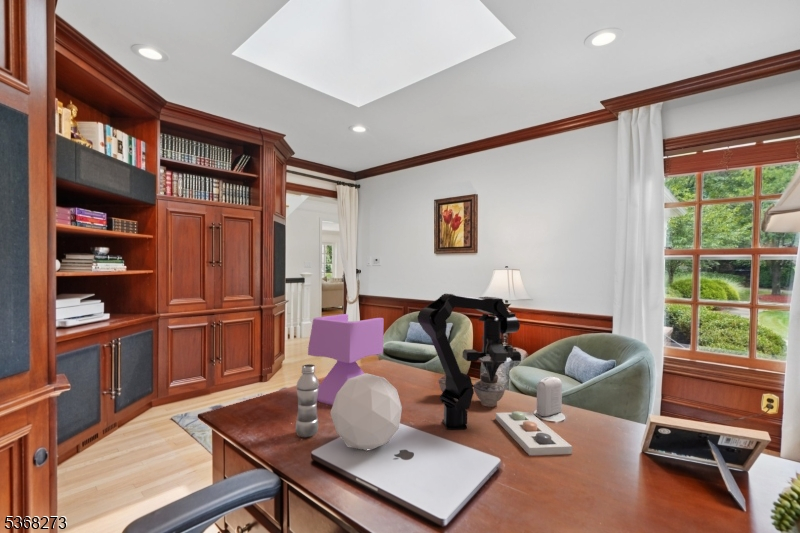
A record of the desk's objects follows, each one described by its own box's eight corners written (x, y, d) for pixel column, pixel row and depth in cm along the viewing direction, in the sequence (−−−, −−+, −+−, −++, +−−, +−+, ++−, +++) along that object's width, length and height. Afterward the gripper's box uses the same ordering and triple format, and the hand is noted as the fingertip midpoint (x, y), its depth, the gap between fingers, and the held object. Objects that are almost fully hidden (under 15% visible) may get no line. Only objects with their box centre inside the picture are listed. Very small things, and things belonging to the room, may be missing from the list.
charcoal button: (540, 450, 99) (540, 439, 99) (533, 443, 103) (533, 432, 103) (554, 450, 99) (554, 439, 99) (546, 443, 103) (546, 432, 103)
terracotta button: (526, 437, 107) (526, 426, 107) (520, 431, 111) (520, 421, 111) (539, 436, 107) (539, 426, 107) (532, 430, 111) (533, 421, 111)
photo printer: (552, 408, 131) (552, 373, 131) (563, 412, 127) (564, 376, 128) (534, 413, 125) (535, 377, 126) (545, 418, 122) (546, 381, 122)
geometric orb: (377, 478, 96) (387, 438, 84) (315, 440, 102) (316, 397, 90) (407, 421, 111) (419, 380, 99) (352, 390, 116) (357, 348, 105)
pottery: (442, 391, 147) (443, 362, 147) (506, 401, 137) (506, 369, 137) (434, 400, 137) (434, 368, 137) (502, 411, 127) (503, 377, 127)
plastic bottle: (322, 432, 107) (324, 364, 108) (309, 442, 101) (311, 369, 101) (303, 428, 109) (305, 362, 110) (290, 438, 103) (292, 367, 103)
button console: (529, 455, 96) (529, 447, 96) (495, 418, 120) (495, 412, 120) (572, 453, 98) (572, 446, 98) (530, 418, 121) (530, 412, 121)
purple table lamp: (382, 395, 140) (383, 318, 141) (348, 411, 123) (350, 323, 124) (342, 386, 151) (344, 313, 151) (306, 399, 134) (309, 318, 135)
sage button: (514, 425, 114) (515, 416, 115) (509, 420, 118) (509, 411, 119) (526, 425, 115) (527, 415, 115) (521, 420, 119) (521, 411, 119)
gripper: (472, 338, 113) (471, 388, 113) (529, 338, 115) (528, 388, 115) (462, 332, 124) (461, 378, 124) (514, 332, 126) (513, 377, 126)
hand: (491, 380), depth 122 cm, fingers closed
